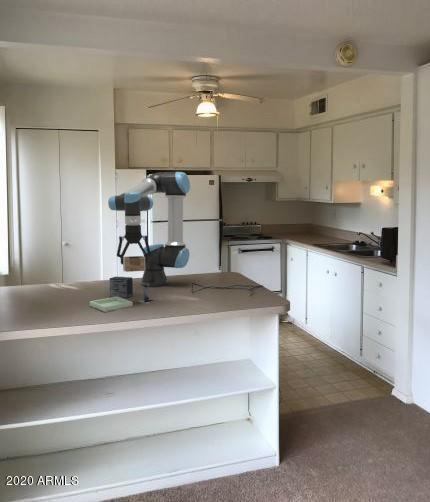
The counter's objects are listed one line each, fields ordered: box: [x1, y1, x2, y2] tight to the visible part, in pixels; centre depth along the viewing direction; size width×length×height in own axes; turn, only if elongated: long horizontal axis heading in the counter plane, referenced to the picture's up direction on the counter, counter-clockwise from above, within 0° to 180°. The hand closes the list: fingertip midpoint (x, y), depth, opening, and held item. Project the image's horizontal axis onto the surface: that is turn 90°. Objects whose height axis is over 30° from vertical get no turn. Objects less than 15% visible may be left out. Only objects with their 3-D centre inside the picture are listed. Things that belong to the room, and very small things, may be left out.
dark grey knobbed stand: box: [138, 283, 155, 305], centre depth 255 cm, size 8×8×10 cm
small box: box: [109, 276, 134, 299], centre depth 268 cm, size 11×6×10 cm, turn 71°
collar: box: [124, 255, 145, 272], centre depth 250 cm, size 9×9×6 cm
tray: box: [89, 297, 134, 313], centre depth 249 cm, size 15×15×2 cm
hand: (134, 270), depth 251 cm, fingers closed on collar, 9 cm apart
